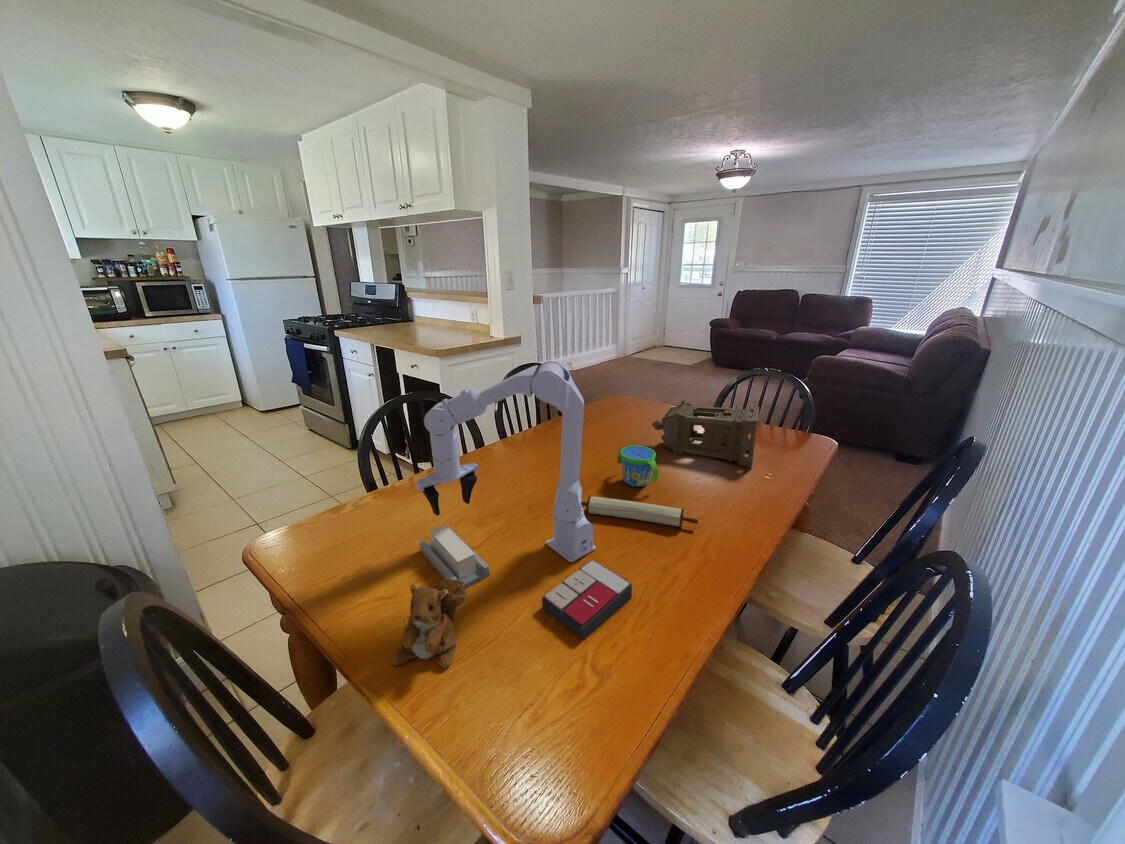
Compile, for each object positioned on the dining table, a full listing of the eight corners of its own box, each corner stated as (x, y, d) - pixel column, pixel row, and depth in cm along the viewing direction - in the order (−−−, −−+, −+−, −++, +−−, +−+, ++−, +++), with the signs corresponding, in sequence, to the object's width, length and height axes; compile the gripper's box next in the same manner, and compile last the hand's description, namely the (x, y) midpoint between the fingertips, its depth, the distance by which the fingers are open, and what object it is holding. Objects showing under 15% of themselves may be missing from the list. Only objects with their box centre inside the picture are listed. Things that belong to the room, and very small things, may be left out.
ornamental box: (645, 457, 154) (646, 411, 146) (657, 434, 168) (658, 391, 160) (750, 474, 140) (757, 424, 131) (754, 447, 154) (761, 401, 145)
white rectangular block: (476, 570, 93) (474, 553, 91) (459, 579, 90) (457, 561, 89) (447, 540, 103) (445, 524, 101) (431, 547, 100) (429, 531, 99)
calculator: (540, 595, 83) (591, 556, 93) (541, 611, 85) (592, 571, 94) (582, 627, 76) (633, 581, 85) (582, 644, 77) (632, 597, 87)
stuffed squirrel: (388, 669, 72) (375, 608, 67) (429, 606, 85) (420, 551, 80) (443, 680, 70) (434, 618, 65) (476, 614, 83) (471, 558, 78)
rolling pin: (697, 523, 111) (699, 507, 109) (696, 536, 106) (699, 519, 104) (577, 504, 120) (577, 489, 118) (572, 515, 115) (572, 499, 113)
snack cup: (666, 489, 127) (669, 458, 124) (637, 498, 123) (639, 466, 119) (634, 468, 140) (636, 439, 137) (607, 475, 136) (608, 446, 132)
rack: (489, 575, 93) (488, 566, 92) (455, 593, 88) (454, 583, 87) (451, 537, 106) (450, 528, 105) (420, 550, 101) (419, 541, 100)
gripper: (466, 441, 103) (470, 491, 108) (407, 458, 95) (415, 511, 100) (481, 451, 98) (485, 502, 103) (420, 470, 90) (427, 525, 94)
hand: (451, 507), depth 101 cm, fingers open, 7 cm apart
